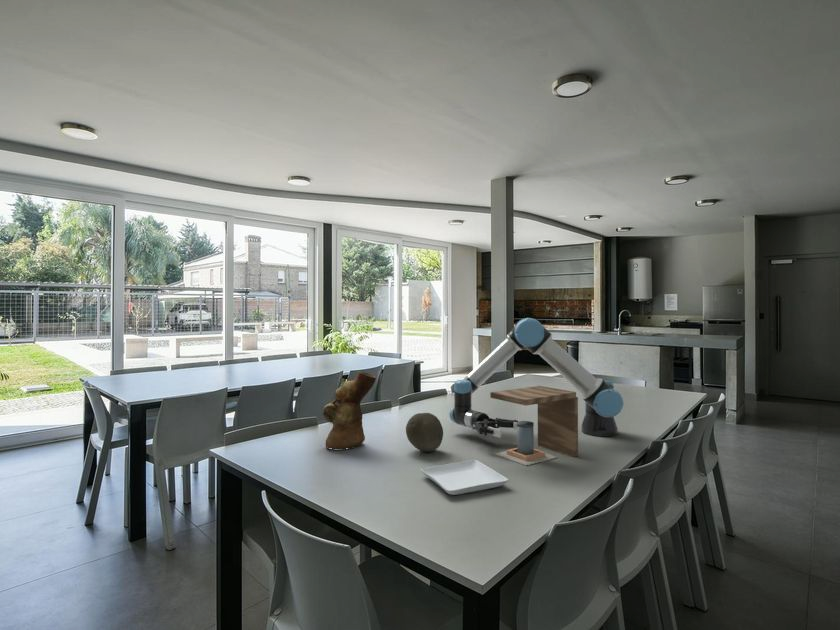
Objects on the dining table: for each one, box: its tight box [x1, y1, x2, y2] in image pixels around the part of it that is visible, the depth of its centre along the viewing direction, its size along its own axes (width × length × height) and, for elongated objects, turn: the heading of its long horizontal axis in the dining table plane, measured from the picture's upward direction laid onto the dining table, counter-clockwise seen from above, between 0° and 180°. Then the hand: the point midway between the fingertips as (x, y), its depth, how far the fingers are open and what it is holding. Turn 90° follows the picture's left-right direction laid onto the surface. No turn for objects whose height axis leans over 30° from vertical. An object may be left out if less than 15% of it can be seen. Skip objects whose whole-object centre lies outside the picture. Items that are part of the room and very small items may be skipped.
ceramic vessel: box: [322, 370, 377, 449], centre depth 191 cm, size 16×22×30 cm
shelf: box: [489, 385, 579, 458], centre depth 174 cm, size 27×18×24 cm, turn 123°
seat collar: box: [494, 447, 558, 467], centre depth 175 cm, size 16×16×2 cm
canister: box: [516, 420, 535, 455], centre depth 175 cm, size 6×6×12 cm
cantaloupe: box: [405, 412, 444, 453], centre depth 181 cm, size 14×14×15 cm
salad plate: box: [420, 459, 509, 496], centre depth 149 cm, size 21×21×3 cm
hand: (513, 431), depth 180 cm, fingers open, 13 cm apart
